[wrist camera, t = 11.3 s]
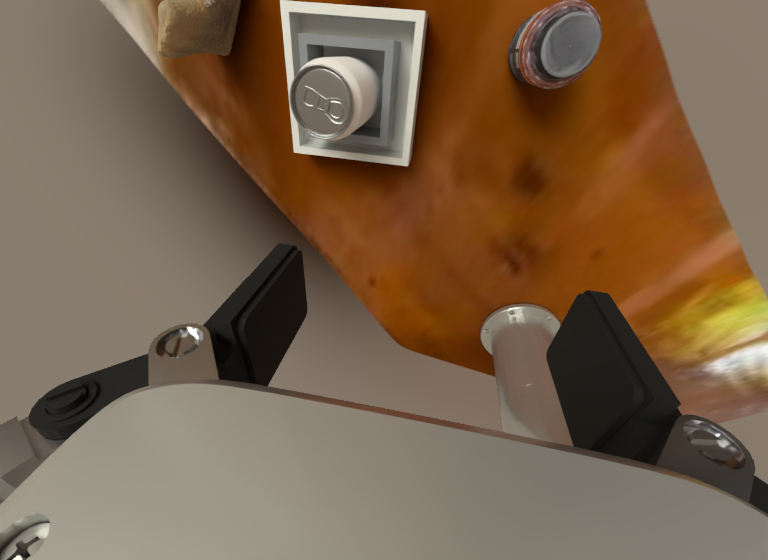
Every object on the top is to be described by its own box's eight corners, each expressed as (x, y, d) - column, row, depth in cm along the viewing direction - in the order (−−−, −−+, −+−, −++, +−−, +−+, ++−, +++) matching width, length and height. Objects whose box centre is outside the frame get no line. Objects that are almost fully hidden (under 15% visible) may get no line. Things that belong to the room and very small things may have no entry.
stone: (231, 66, 38) (173, 69, 30) (194, 38, 37) (123, 33, 29) (256, -19, 33) (194, -42, 25) (214, -54, 32) (134, -90, 24)
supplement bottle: (582, 46, 32) (635, 43, 23) (528, 96, 35) (556, 112, 26) (547, -7, 30) (589, -33, 21) (494, 51, 33) (510, 50, 24)
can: (371, 131, 39) (345, 157, 29) (322, 107, 38) (278, 125, 28) (392, 72, 35) (369, 79, 25) (337, 45, 34) (293, 41, 25)
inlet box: (428, 15, 32) (424, 8, 28) (411, 157, 41) (406, 171, 36) (296, 5, 34) (270, -3, 29) (306, 144, 42) (287, 156, 37)
